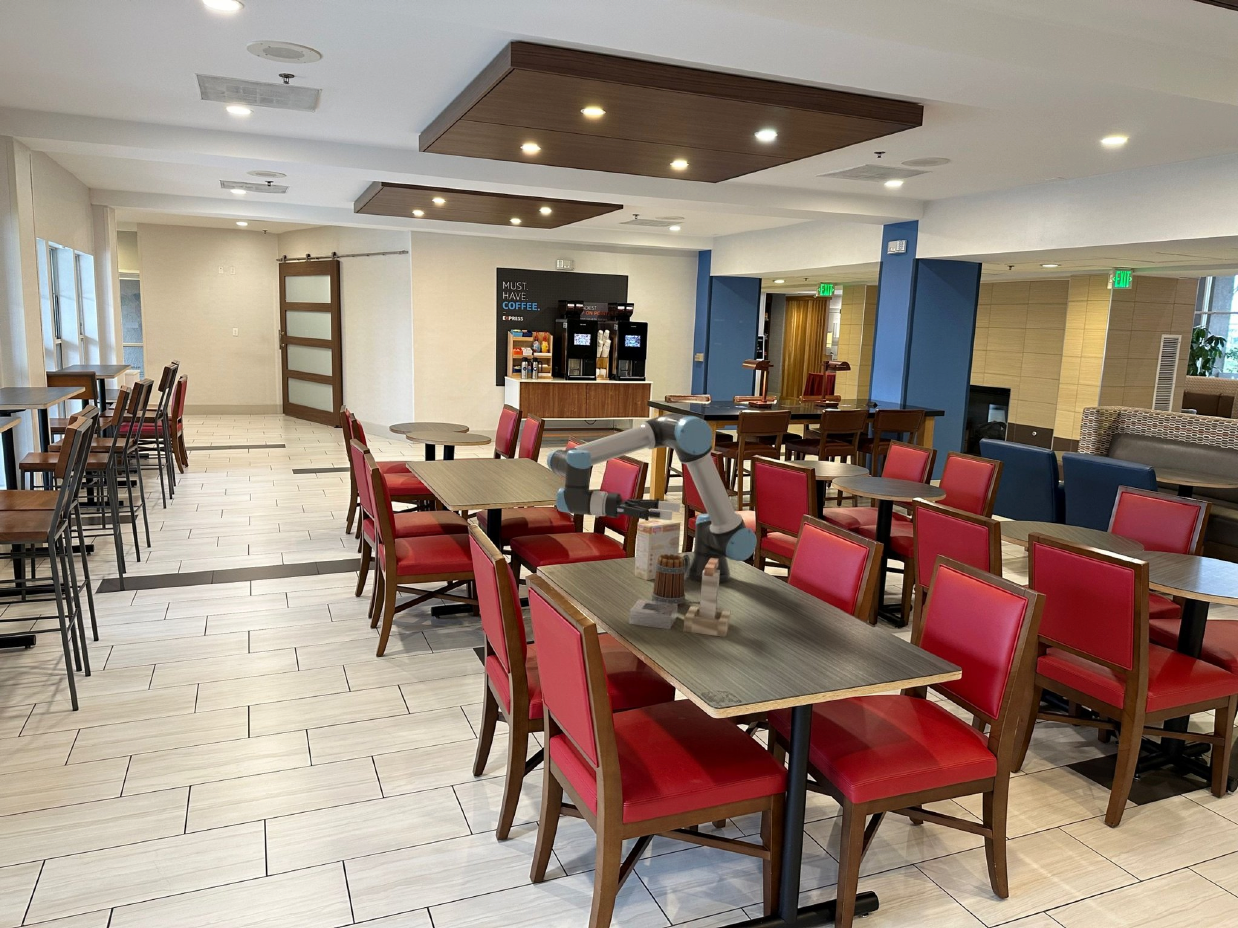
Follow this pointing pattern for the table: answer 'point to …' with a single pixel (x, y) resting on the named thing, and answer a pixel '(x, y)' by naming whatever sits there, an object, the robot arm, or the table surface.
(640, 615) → the plate
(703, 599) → the t-key
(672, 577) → the mug
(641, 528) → the coffeecake box
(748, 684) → the table surface
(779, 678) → the table surface
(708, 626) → the block
